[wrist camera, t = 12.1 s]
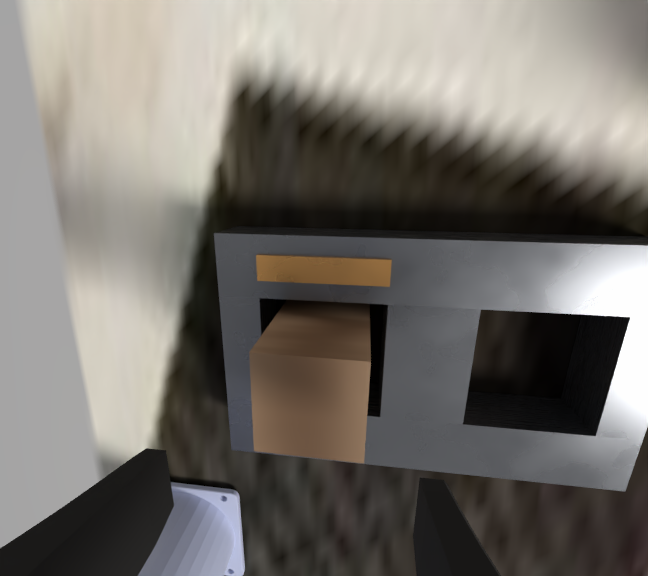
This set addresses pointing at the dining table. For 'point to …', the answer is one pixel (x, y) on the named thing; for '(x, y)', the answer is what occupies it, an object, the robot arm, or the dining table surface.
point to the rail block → (459, 342)
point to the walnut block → (312, 381)
